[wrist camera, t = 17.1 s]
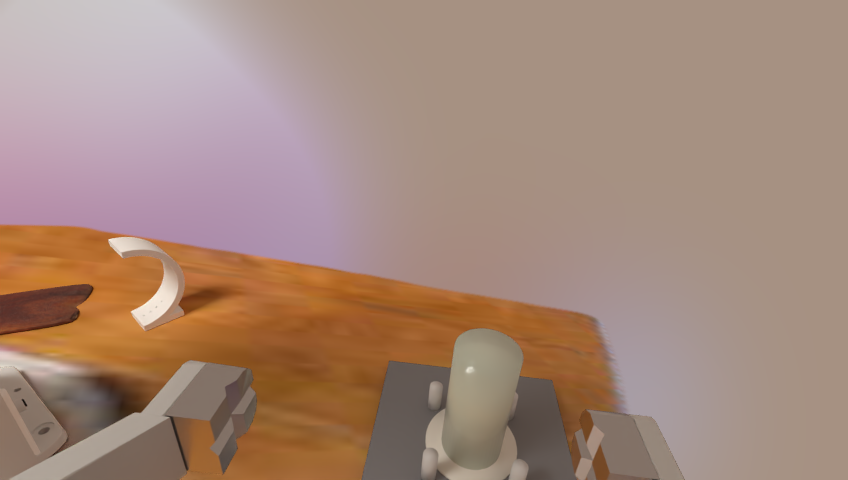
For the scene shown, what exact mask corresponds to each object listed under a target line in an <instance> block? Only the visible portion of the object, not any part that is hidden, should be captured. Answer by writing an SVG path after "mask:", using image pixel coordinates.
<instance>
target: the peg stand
mask: <svg viewBox="0 0 848 480" xmlns="http://www.w3.org/2000/svg"><path fill="white" fill-rule="evenodd" d="M450 374H451V368H446V367H438V366H430V365H421V364H413V363H405V362H396V361H389V364H388V369H387V373H386V377H385V382H384V386H383V390H382V394H381V399H380V403H379V407H378V411H377V416H376V420H375V424H374V429H373V433H372V437H371V441H370V446H369V450H368V454H367V459H366V463H365V467H364V471H363V476H362V480H577V479H576V476H575V474H574V469H573V465H572V458H571V454H570V450H569V446H568V442H567V438H566V434H565V430H564V426H563V422H562V418H561V414H560V410H559V406H558V402H557V398H556V394H555V390H554V386H553V382H552V380H546V379H538V378H530V377H521V376H519V380H518V384H517V388H516V392H515V396H514V400H513V404H512V408H511V412H510V416H509V420H508V424H507V428H506V432H505V436H504V440H503V444H502V448H501V452H500V455H499V457H498V459H497V461H496V462H495V463H494V464H493V465H491V466H490V467H488V468H485V469H481V470H470V469H466V468H463V467H461V466H459V465H457V464H456V463H454V462H453V461H452V460H451V459H450V458H449V457H448V456H447V454H446V453H445V451H444V449H443V446H442V440H441V438H442V430H443V423H444V416H445V409H446V402H447V395H448V388H449V381H450Z"/></svg>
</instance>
